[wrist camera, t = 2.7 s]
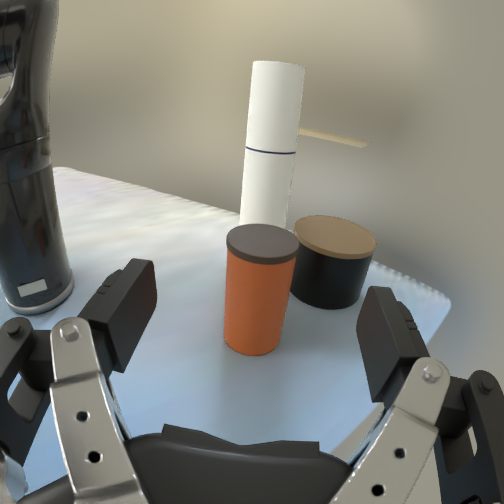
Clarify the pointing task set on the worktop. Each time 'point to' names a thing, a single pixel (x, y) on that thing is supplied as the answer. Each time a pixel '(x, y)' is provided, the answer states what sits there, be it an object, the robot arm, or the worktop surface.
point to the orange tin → (257, 286)
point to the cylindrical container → (271, 142)
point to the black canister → (331, 261)
